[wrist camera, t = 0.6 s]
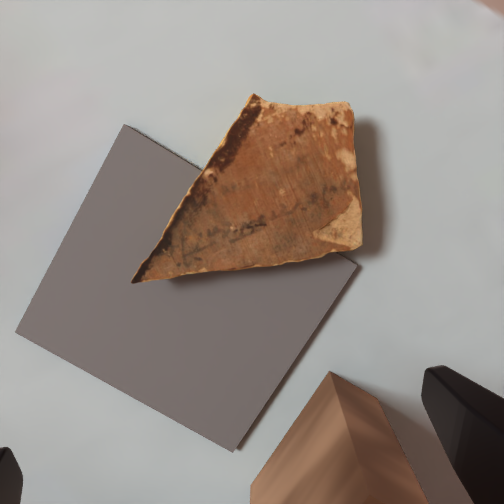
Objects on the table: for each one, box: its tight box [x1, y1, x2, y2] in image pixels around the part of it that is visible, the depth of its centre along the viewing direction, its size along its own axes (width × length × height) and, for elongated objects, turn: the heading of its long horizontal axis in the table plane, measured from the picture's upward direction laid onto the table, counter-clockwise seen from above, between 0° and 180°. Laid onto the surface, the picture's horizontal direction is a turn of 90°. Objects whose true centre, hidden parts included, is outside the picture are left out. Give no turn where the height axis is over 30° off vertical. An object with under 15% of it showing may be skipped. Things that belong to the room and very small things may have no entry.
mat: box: [15, 124, 357, 453], centre depth 23 cm, size 13×12×1 cm
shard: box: [131, 94, 363, 284], centre depth 20 cm, size 11×8×2 cm
